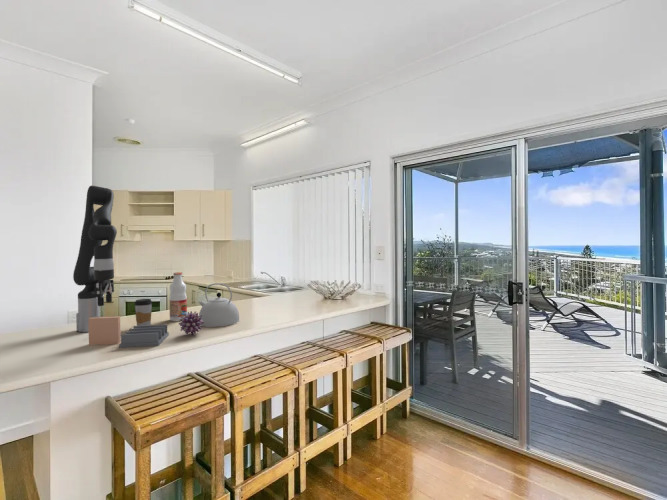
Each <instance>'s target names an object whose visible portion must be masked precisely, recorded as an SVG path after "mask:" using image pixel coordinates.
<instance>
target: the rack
mask: <svg viewBox="0 0 667 500" xmlns="http://www.w3.org/2000/svg"><path fill="white" fill-rule="evenodd" d="M124 333H125V334H123V333H122V334H121V342H120V343H118V345H119V346H118V348H119V349H121V348H136V347H137V348H138V347H139V348H140V347H156V346H160V345H161V344H162V343H163V342H164V341H165V340H166V338H168V337H169V336H170V335H169V334H170V333H169V331H168V324H151V325H145V326H137V325H133V328H129V331H125V332H124Z"/></svg>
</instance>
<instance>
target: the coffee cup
mask: <svg viewBox="0 0 667 500" xmlns="http://www.w3.org/2000/svg"><path fill="white" fill-rule="evenodd" d="M152 305H153V301H152V299H151V298H140V299H135V302H134V308H135V322H136V326H145V325H152V324H151V323H152V322H151V321H152V308H153V307H152Z"/></svg>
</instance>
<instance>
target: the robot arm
mask: <svg viewBox="0 0 667 500" xmlns="http://www.w3.org/2000/svg"><path fill="white" fill-rule="evenodd" d="M113 191H114V190H112V189H111V188H107V187H103V186H97V185H90V186H89V187H88V188H87V191H86V199H85V200H86V201H85V212H84V219H83V226H82V230H81V236H80V244H79V250H78V254H77V259H76V263H75V266H74V270H73V273H72V274H73V276H72V279H73V281H74V283H75V285H76V286H85V287H84V288H83V289H82V290H80V291H79V292H78V293H77V312H76V314H75V319H76V320H75V321H76V322H75V323H76V324H75V325H76V332H77V331H79V332H78V333H89V327H88V319H89V318H91V317H101V312H100V310H101V307H103V306H104V305H105V302H106V303H107V304H108V303H112V302H113V297H112V295H113V293H114V292H115V287H114V285H115V284H114V278H115V268H114V267H115V263H114V254H113V251H114V245H115V244H114V243H115V241H116V237H117V233H118V231H117V228H116V226H114V225H112V212H113V211H112V210H113V206H114V198H115V197H114V192H113ZM94 205H97V206H100V207H98V208H96V210H95V209H94ZM104 241H107V242H106V243H105V244H103V242H104ZM93 258H94V260H93ZM92 260H93V266H91V264H92Z"/></svg>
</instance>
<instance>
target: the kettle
mask: <svg viewBox="0 0 667 500" xmlns="http://www.w3.org/2000/svg"><path fill="white" fill-rule="evenodd" d="M215 285H216V286H218V285H219V286H224V287H226V288H227V289H228V290H229V292H230V299H228V298H225V297H221V296H222V293H221V292H217V293H216V298H215V297H214V298H212V299H210V300H209V298H208V295H207V293H208V289H209V288H210V287H211V286H215ZM204 295H205V299H206V302H205V301H203V300H201V301H199V302H198V303H199V305H200V306H201V309H200V310H199V313H198V315H202V316H201V317H202V318H201V319H200V320H202V321H204V323H202V324H201V326H202V327H209V328H210V327H211V328H212V327H213V328H215V327H216V328H217V327H225V326H232V325H234V324H235V325H236V324H238V323H239V322H240V312H239V309H238V307H237V305H236V304H235V303H233V301H232V300H233V299H232V298H233V292H232V289H231V287H229V286H228V285H227V284H226V283H225V284H224V283H221V282H218V283H217V282H216V283H215V282H214V283H211V284H209V285H208V286H207V287H206V288H205V290H204ZM237 322H238V323H237Z"/></svg>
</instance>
